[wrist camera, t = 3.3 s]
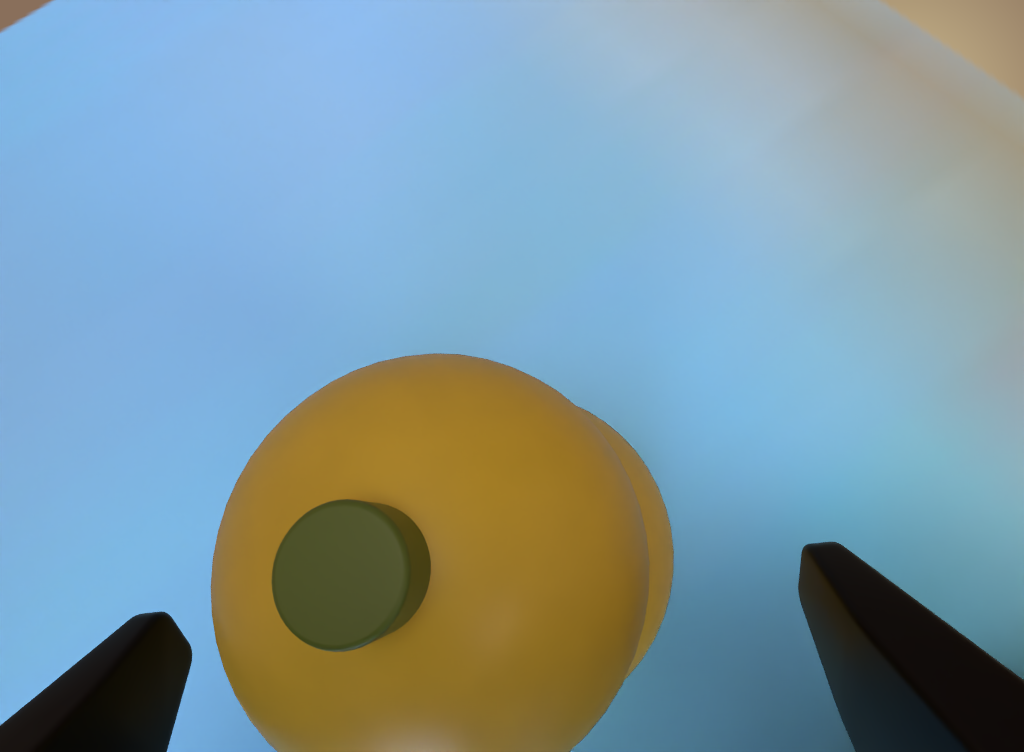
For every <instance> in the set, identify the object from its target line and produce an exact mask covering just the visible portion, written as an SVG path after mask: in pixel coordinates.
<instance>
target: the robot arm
mask: <svg viewBox="0 0 1024 752" xmlns="http://www.w3.org/2000/svg"><path fill="white" fill-rule="evenodd" d="M798 590H799V597H800V601H801V605H802V608H803V611H804V614H805V617H806V619H807V622H808V625H809V628H810V631H811V634H812V637H813V640H814V642H815V645H816V648H817V651H818V654H819V657H820V660H821V663H822V665H823V668H824V671H825V674H826V677H827V680H828V683H829V686H830V689H831V691H832V694H833V697H834V700H835V703H836V706H837V708H838V711H839V714H840V716H841V719H842V722H843V724H844V726H845V728H846V731H847V733H848V735H849V738H850V740H851V742H852V744H853V746H854V749H855V751H856V752H1024V680H1023V679H1021V678H1020V677H1019V676H1017V675H1016V674H1015V673H1013V672H1012V671H1011V670H1009V669H1008V668H1007V667H1005V666H1004V665H1002V664H1001V663H1000V662H998V661H997V660H996V659H994V658H993V657H992V656H990V655H989V654H988V653H986V652H985V651H984V650H982V649H981V648H980V647H978V646H977V645H976V644H974V643H973V642H972V641H970V640H969V639H968V638H966V637H965V636H964V635H962V634H961V633H960V632H958V631H957V630H955V629H954V628H953V627H951V626H950V625H949V624H947V623H946V622H945V621H943V620H942V619H941V618H939V617H938V616H937V615H935V614H934V613H933V612H931V611H930V610H929V609H927V608H926V607H925V606H923V605H922V604H921V603H919V602H918V601H917V600H915V599H914V598H912V597H911V596H910V595H908V594H907V593H906V592H904V591H903V590H902V589H900V588H899V587H898V586H896V585H895V584H894V583H892V582H891V581H890V580H888V579H887V578H886V577H884V576H883V575H882V574H880V573H879V572H878V571H876V570H875V569H874V568H872V567H871V566H870V565H868V564H867V563H865V562H864V561H863V560H861V559H860V558H859V557H857V556H856V555H855V554H853V553H852V552H851V551H849V550H848V549H847V548H845V547H844V546H843V545H841V544H839V543H836V542H823V543H813V544H807V545H805V546H804V548H803V550H802V554H801V564H800V574H799V584H798ZM191 662H192V649H191V646H190V644H189V642H188V641H187V639H186V638H185V636H184V635H183V633H182V632H181V631H180V629H179V628H178V626H177V625H176V623H175V622H174V620H173V619H172V617H171V616H170V615H169V614H167V613H165V612H153V613H144V614H139V615H136V616H134V617H132V618H131V619H130V620H128V621H127V622H126V623H125V624H124V625H122V626H121V627H120V628H119V629H118V630H116V631H115V632H114V633H113V634H111V635H110V636H109V637H108V638H107V639H105V640H104V641H103V642H102V643H100V644H99V645H98V646H97V647H96V648H94V649H93V650H92V651H91V652H90V653H88V654H87V655H86V656H85V657H83V658H82V659H81V660H80V661H79V662H77V663H76V664H75V665H74V666H72V667H71V668H70V669H69V670H68V671H66V672H65V673H64V674H63V675H61V676H60V677H59V678H58V679H57V680H55V681H54V682H53V683H52V684H50V685H49V686H48V687H47V688H46V689H44V690H43V691H42V692H41V693H40V694H38V695H37V696H36V697H35V698H33V699H32V700H31V701H30V702H29V703H27V704H26V705H25V706H24V707H22V708H21V709H20V710H19V711H18V712H16V713H15V714H14V715H13V716H11V717H10V718H9V719H8V720H7V721H5V722H4V723H3V724H2V725H1V726H0V752H167V749H168V745H169V741H170V738H171V734H172V731H173V727H174V724H175V720H176V716H177V713H178V709H179V706H180V702H181V698H182V695H183V691H184V688H185V684H186V681H187V677H188V673H189V670H190V666H191Z"/></svg>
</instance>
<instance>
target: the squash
mask: <svg viewBox="0 0 1024 752" xmlns="http://www.w3.org/2000/svg"><path fill="white" fill-rule="evenodd" d="M673 554H674V551H673V542H672V533H671V527H670V523H669V519H668V514H667V510H666V507H665V504H664V502H663V499H662V496H661V494H660V491H659V489H658V486H657V484H656V483H655V481H654V479H653V477H652V475H651V473H650V471H649V470H648V468H647V466H646V465H645V464H644V462H643V461H642V459H641V458H640V457H639V455H638V454H637V452H636V451H635V450H634V449H633V448H632V447H631V446H630V444H629V443H628V442H627V441H626V440H625V439H624V438H623V437H622V436H621V435H620V434H619V433H618V432H616V431H615V430H614V429H613V428H612V427H610V426H609V425H608V424H607V423H606V422H604V421H602V420H601V419H599V418H598V417H596V416H595V415H593V414H591V413H590V412H588V411H586V410H584V409H582V408H580V407H578V406H576V405H574V404H573V403H572V402H571V401H569V400H568V399H567V398H566V397H565V396H563V395H562V394H561V393H559V392H558V391H556V390H555V389H553V388H552V387H550V386H548V385H547V384H545V383H544V382H542V381H540V380H539V379H537V378H535V377H532V376H530V375H528V374H526V373H524V372H522V371H519V370H517V369H515V368H513V367H510V366H507V365H504V364H500V363H497V362H494V361H491V360H488V359H483V358H478V357H472V356H466V355H459V354H424V355H413V356H405V357H400V358H395V359H390V360H386V361H381V362H377V363H374V364H372V365H369V366H366V367H363V368H360V369H357V370H355V371H352V372H350V373H348V374H346V375H344V376H342V377H340V378H338V379H336V380H334V381H332V382H331V383H329V384H328V385H326V386H324V387H323V388H321V389H320V390H318V391H317V392H315V393H314V394H312V395H311V396H309V397H308V398H307V399H305V400H304V401H303V402H302V403H301V404H299V405H298V406H297V407H296V408H295V409H293V410H292V411H291V412H290V413H289V414H287V415H286V416H285V417H284V418H283V419H282V420H281V421H280V422H279V423H278V424H277V425H276V427H275V428H274V429H273V430H272V431H271V432H270V433H269V434H268V435H267V436H266V437H265V439H264V440H263V442H262V443H261V444H260V446H259V447H258V448H257V450H256V451H255V452H254V454H253V455H252V456H251V458H250V459H249V461H248V463H247V465H246V466H245V468H244V470H243V471H242V473H241V475H240V477H239V478H238V480H237V482H236V484H235V487H234V489H233V491H232V493H231V496H230V498H229V500H228V502H227V505H226V508H225V511H224V514H223V517H222V521H221V524H220V527H219V530H218V535H217V540H216V545H215V550H214V556H213V564H212V577H211V603H212V618H213V624H214V630H215V637H216V643H217V646H218V650H219V653H220V656H221V660H222V663H223V667H224V670H225V672H226V675H227V677H228V679H229V682H230V684H231V686H232V689H233V691H234V693H235V696H236V697H237V699H238V701H239V702H240V704H241V706H242V707H243V709H244V711H245V712H246V714H247V716H248V717H249V719H250V721H251V722H252V723H253V725H254V726H255V727H256V728H257V730H258V731H259V732H260V733H261V735H262V736H263V737H264V738H265V740H266V741H267V742H268V743H269V744H270V745H271V746H272V747H273V748H274V749H275V750H276V751H277V752H569V751H570V750H572V749H573V748H574V747H575V746H576V745H577V744H578V743H579V742H580V741H581V740H582V739H583V738H584V737H585V736H586V735H587V734H588V733H589V732H590V730H591V729H592V728H593V727H594V725H595V724H596V723H597V722H598V721H599V719H600V718H601V717H602V716H603V714H604V713H605V712H606V710H607V709H608V707H609V705H610V704H611V702H612V701H613V699H614V697H615V696H616V694H617V692H618V691H619V689H620V687H621V686H622V684H623V682H624V680H625V679H626V678H627V677H628V676H629V675H630V674H631V672H632V671H633V670H634V669H635V667H636V666H637V665H638V664H639V662H640V661H641V660H642V659H643V657H644V656H645V654H646V652H647V651H648V649H649V647H650V646H651V644H652V642H653V641H654V639H655V637H656V635H657V632H658V630H659V628H660V625H661V623H662V621H663V618H664V615H665V612H666V608H667V605H668V601H669V598H670V592H671V585H672V578H673Z"/></svg>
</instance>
